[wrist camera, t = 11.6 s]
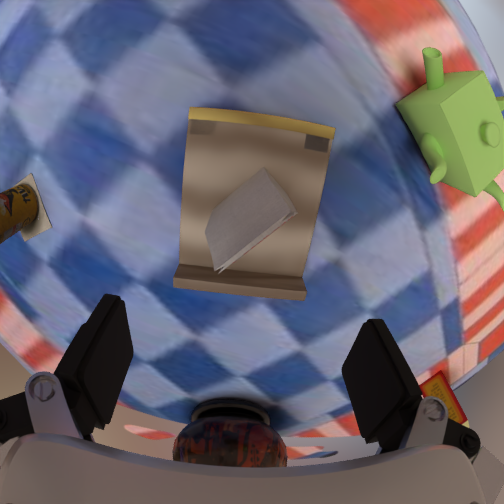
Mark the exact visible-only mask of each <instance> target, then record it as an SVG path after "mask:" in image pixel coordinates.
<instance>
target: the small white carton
mask: <svg viewBox="0 0 504 504" xmlns="http://www.w3.org/2000/svg"><path fill="white" fill-rule="evenodd" d="M297 213H298V212H297V211H296V209H295V207H294V205H293V203H292V202H291V200H290V198H289V197H288V195H287V194H286V192H285V191H284V190H283V189H282V188H281V186H280V185H279V184H278V183H277V182H276V180H275V179H274V178H273V177H272V176H271V175H270V173H269V172H268V171H267V170H266V169H265V168H264V167H263V168H262V169H260V170H259V171H258V172H257V173H255V174H254V175H253V176H252V177H251V178H249V179H248V180H247V181H246V182H245V183H243V184H242V185H241V186H240V187H239V188H237V189H236V190H235V191H234V192H233V193H232V194H230V195H229V196H228V197H227V198H226V199H225V200H223V201H222V202H221V203H220V204H219V205H218V206H217V207H215V208H214V209H213V210H212V213H211V215H210V218H209V221H208V224H207V227H206V229H205V235H206V239H207V242H208V246H209V249H210V252H211V256H212V260H213V264H214V271H216V270H218V269H219V268H221V269H220V271H219V273H220V272H222V271H223V270H224V269H225V268H227V267H228V266H229V265H230V264H232V263H234V262H236V261H237V260H238V259H240V258H241V257H242V256H243V255H245V254H246V253H247V252H248V251H250V250H251V249H252V248H254V247H255V246H256V245H257V244H259V243H260V242H261V241H263V240H264V239H265V238H266V237H268V236H269V235H270V234H272V233H273V232H274V231H275V230H277V229H278V228H279V227H281V226H282V225H283V224H284V223H286V222H287V221H288V220H290V219H291V218H292V217H293V216H295V215H296V214H297ZM219 273H218V274H219Z"/></svg>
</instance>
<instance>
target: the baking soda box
mask: <svg viewBox="0 0 504 504" xmlns="http://www.w3.org/2000/svg"><path fill="white" fill-rule="evenodd" d="M419 387H420V389H421V391H422V393H423V394H422V395H423V397H424V398H425V397H427V396H434V397H437V398H439V399H441V400H442V401H443V402H444V403H445V405H446V406H447V409H448V418H450V419H452V420H454V421H456V422H458V423H460V424H462V425H464V426H466V427H468V428H469V423H468V419H467V417H466V415H465V414H464V412H463V410H462V408H461V406H460V404H459V402H458V400H457V398H456V397H455V395H454V393H453V391H452V389H451V387H450V386H449V384H448V382H447V380H446V379H445V377H444V375H443V373H442V372H441V370H440V371H439V372H438V373H436V374H435V375H433V376H432V377H431V378H429V379H428V380H426V381H425V382H424V383H422V384H421V385H419Z"/></svg>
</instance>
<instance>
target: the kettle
mask: <svg viewBox="0 0 504 504" xmlns="http://www.w3.org/2000/svg"><path fill="white" fill-rule="evenodd" d="M422 53H423V59H424V65H425V73H426V81H427V83H425V84H424V85H422V86H421V87H419V88H418V89H417V90H415V91H414V92H412V93H411V94H409V95H408V96H406V97H405V98H403V99H402V100H401V101H399V102H398V103H396V106H397V108H398V110H399V111H400V113H401V115H402V116H403V119H404V121H405V122H406V123H407V125H408V127H409V129H410V131H411V132H412V134H413V136H414V138H415V140H416V142H417V144H418V146H419V148H420V150H421V152H422V154H423V157H424V159H425V160H426V162H427V164H428V167H429V169H430V171H431V173H432V174H431V177H430V182H431V183H432V184H435V183H437V182H439V181H441V182H443V183H445V184H447V185H450V186H452V187H454V188H456V189H458V190H461V191H463V192H465V193H467V194H469V195H471V196H473V197H477V195H478V194H479V193H480V192H481V191H482V190H483V191H485V192H487V193H489V194H490V195H492V196H493V197H494V198H495V199H496V200H497V201H498V202H499V204H500V206H501V208H502V210H503V211H504V193H503V191H502V190H501V188H500V187H499V186H498V185H497V183H496V182H495V181H494V180H493V179H494V178H495V177H496V176H497V175H498V174H499V173H500V172H501V171H502V170H503V169H504V119H503V116H502V113H501V111H503V110H504V96H503V97H495V95H494V93H493V90H492V88H491V86H490V83H489V81H488V79H487V77H486V75H485V73H484V71H483V70H482V71H465V72H453V73H443V63H442V54H441V52H440V51H439V50H437V49H435V48H431V47H428V48H424V49H423V50H422Z"/></svg>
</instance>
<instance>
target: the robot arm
mask: <svg viewBox="0 0 504 504" xmlns="http://www.w3.org/2000/svg"><path fill="white" fill-rule="evenodd" d="M132 357H133V345H132V340H131V335H130V330H129V325H128V319H127V313H126V307H125V302H124V301H123V300H121V298H120V296H117V295H111V294H105V295H104V296H103V297H102V299H101V300H100V302H99V303H98V305H97V306H96V308H95V309H94V311H93V313H92V314H91V316H90V317H89V319H88V320H87V322H86V323H84V324H83V325H82V326H81V327H80V329H79V330H78V332H77V334H76V335H75V337H74V338H73V340H72V342H71V344H70V345H69V347H68V349H67V350H66V352H65V354H64V356H63V357H62V359H61V361H60V363H59V364H58V366H57V368H56V370H55V372H54V374H52V373H50V372H38V373H36V374H34V375H32V376H31V377H30V378H29V379H28V381H27V382H26V386H25V392H22V393H19V394H16V395H13V396H10V397H8V398H5V399H2V400H0V504H493V503H494V501H495V500H496V498H497V496H498V494H499V492H500V490H501V488H502V486H503V484H504V465H503V464H502V463H501V462H500V461H499V460H498V459H497V458H496V457H495V456H494V455H492V454H491V453H490V452H489V451H488V450H487V449H486V448H485V447H484V446H482V447H481V448H480V439H479V437H478V435H477V433H476V432H475V431H473V430H472V429H470V428H468V427H466V426H464V425H462V424H460V423H458V422H456V421H454V420H452V419H450V418H448V409H447V406H446V405H445V403H444V402H443V401H442V400H441V399H439V398H437V397H434V396H427V397H425V398H423V399H422V397H421V395H422V394H423V393H422V391H421V389H420V387H419V385H418V383H417V381H416V379H415V377H414V375H413V373H412V371H411V369H410V367H409V365H408V364H407V362H406V360H405V358H404V356H403V354H402V352H401V351H400V349H399V347H398V345H397V343H396V342H395V340H394V338H393V336H392V334H391V333H390V331H389V329H388V328H387V326H386V324H385V322H384V321H383V320H382V319H368V320H367V322H364V323H363V325H362V327H361V329H360V331H359V333H358V336H357V338H356V340H355V342H354V344H353V346H352V348H351V350H350V352H349V354H348V356H347V358H346V360H345V362H344V364H343V366H342V375H343V378H344V381H345V385H346V388H347V391H348V394H349V397H350V400H351V404H352V407H353V410H354V414H355V417H356V420H357V424H358V427H359V430H360V434H361V436H362V437H363V438H365V441H366V444H368V443H373V442H379V445H380V446H379V448H378V450H377V452H376V454H375V455H374V456H369V457H364V458H359V459H353V460H347V461H340V462H334V463H327V464H318V465H307V466H293V467H267V468H251V467H226V466H212V465H202V464H193V463H185V462H178V461H172V460H165V459H161V458H155V457H150V456H146V455H140V454H136V453H132V452H128V451H124V450H119V449H116V448H112V447H109V446H105V445H102V444H98V443H96V442H95V441H94V438H93V436H92V434H91V433H93V430H94V427H96V428H99V429H102V430H104V427H105V424H109V423H110V421H111V418H112V415H113V412H114V409H115V406H116V403H117V400H118V397H119V394H120V391H121V388H122V385H123V382H124V379H125V377H126V374H127V371H128V368H129V366H130V363H131V360H132Z"/></svg>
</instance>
